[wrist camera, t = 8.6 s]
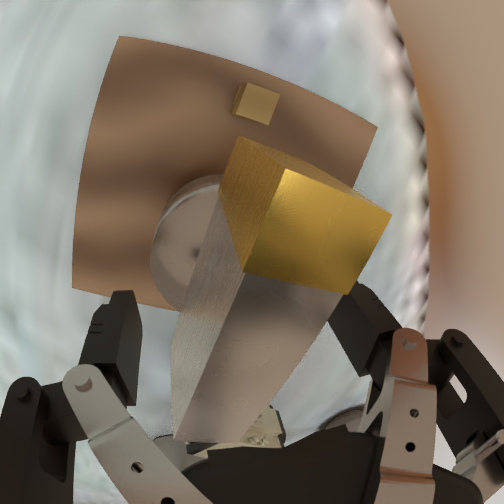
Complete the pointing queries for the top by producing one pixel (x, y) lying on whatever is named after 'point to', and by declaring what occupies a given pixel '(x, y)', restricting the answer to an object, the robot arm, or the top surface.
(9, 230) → the top surface
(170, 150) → the board
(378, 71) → the top surface
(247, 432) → the pneumatic valve
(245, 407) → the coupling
